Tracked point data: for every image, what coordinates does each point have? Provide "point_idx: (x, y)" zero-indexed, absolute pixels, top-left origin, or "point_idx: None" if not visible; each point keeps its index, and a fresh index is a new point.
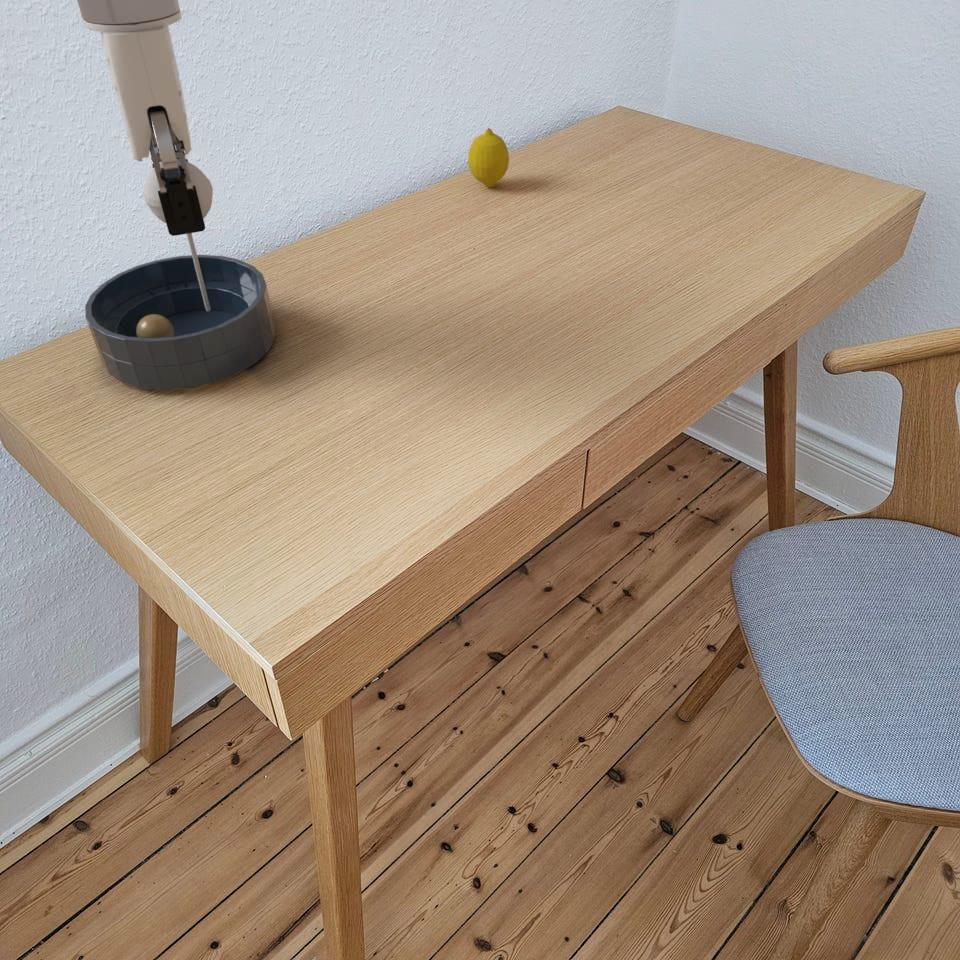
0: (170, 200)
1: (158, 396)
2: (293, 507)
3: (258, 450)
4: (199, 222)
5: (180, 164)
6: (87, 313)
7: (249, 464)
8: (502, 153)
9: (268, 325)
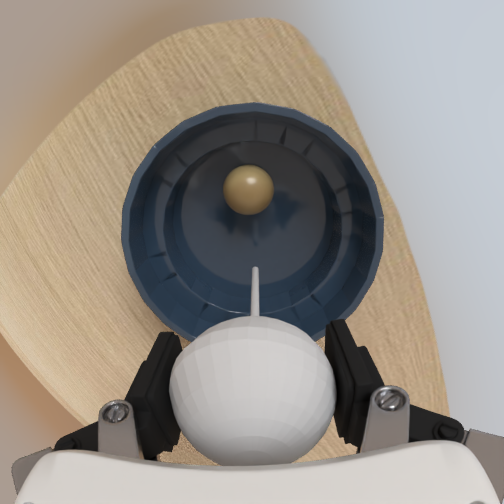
0: (126, 400)
1: None
2: (23, 294)
3: (67, 280)
4: None
5: None
6: (228, 108)
7: (53, 271)
8: None
9: None
